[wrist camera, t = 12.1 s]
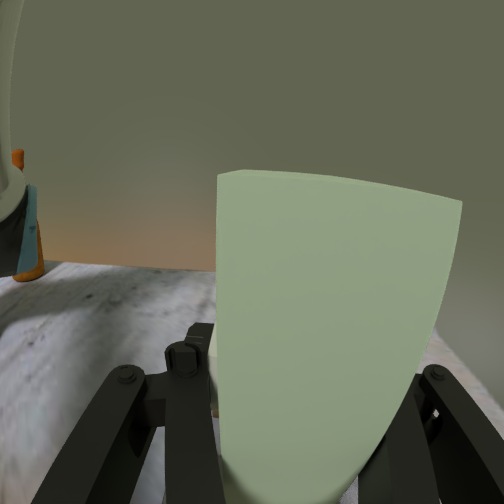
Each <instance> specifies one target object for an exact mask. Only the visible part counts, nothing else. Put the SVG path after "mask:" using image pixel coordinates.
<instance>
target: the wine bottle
mask: <svg viewBox="0 0 504 504" xmlns="http://www.w3.org/2000/svg"><path fill="white" fill-rule="evenodd" d="M12 165H14V166H16V167H17V168H19V169H20V170H21V171H22V169H23V168H24V151H23V150H22V149H18V150H14V151H13V152H12ZM22 173H23V172H22ZM37 251H38V262H37V265H36V267H35V268H34V269H33V270H31V271H28V272H24V273H20V274H18V275H17V276H12V277H13V279H14V280H16V281H19V282H25V281H30V280H34V279H36V278H38V277H40V276H41V275H42V274H43V272H44V261H43V255H42V246H41V238H40V230H39V225H38V221H37Z"/></svg>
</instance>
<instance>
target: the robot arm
mask: <svg viewBox="0 0 504 504" xmlns="http://www.w3.org/2000/svg"><path fill="white" fill-rule="evenodd" d="M23 3H24V0H0V278H2V277H8V276H17V275H18V274H20V273H24V272H28V271H31V270H33V269H34V268H35V267H36V265H37V262H38V251H37V187H36V186H34V185H30V184H28V185H26V183H25V178H24V175H23V173H22V171H21V170H20V169H19V168H17V167H16V166H14V165H12V157H11V144H10V116H9V115H10V84H11V83H10V82H11V71H12V62H13V54H14V47H15V40H16V34H17V29H18V24H19V19H20V15H21V11H22V7H23ZM164 353H165V359H166V366H167V371H166V372H163V373H159V374H150V375H145V373H144V371H143V370H142V369H141V368H140V367H137V366H135V365H122V366H118V367H116V368H114V369H113V370H112V371H111V372H110V373H109V375H108V376H107V378H106V379H105V381H104V382H103V384H102V385H101V387H100V388H99V390H98V391H97V393H96V394H95V396H94V397H93V399H92V401H91V402H90V404H89V405H88V407H87V408H86V410H85V411H84V413H83V415H82V416H81V418H80V419H79V421H78V423H77V424H76V426H75V427H74V429H73V431H72V432H71V434H70V436H69V437H68V439H67V441H66V442H65V444H64V446H63V447H62V449H61V451H60V452H59V454H58V456H57V457H56V459H55V461H54V463H53V464H52V466H51V468H50V469H49V471H48V473H47V475H46V477H45V478H44V480H43V482H42V484H41V486H40V487H39V489H38V491H37V493H36V495H35V497H34V499H33V500H32V502H31V504H129V503H130V500H131V497H132V494H133V492H134V489H135V486H136V483H137V480H138V477H139V475H140V472H141V469H142V466H143V464H144V461H145V458H146V455H147V453H148V450H149V447H150V445H151V442H152V439H153V436H154V434H155V431H156V428H157V427H161V426H165V488H166V504H226V501H225V496H224V491H223V485H222V480H221V474H220V468H219V462H218V456H217V450H216V444H215V437H214V430H213V423H212V416H211V410H219V404H218V379H217V342H216V320H215V324H210V323H195V324H193V325H192V326H191V327H190V328H189V329H188V332H187V335H186V337H185V340H184V341H179V342H175V343H173V344H171V345H169V346H168V347H167V348H166V350H165V352H164ZM435 409H436V410H437V411H438V413H439V415H438V417H437V418H436V417H435V416H434V414H433V413H434V411H435ZM439 498H440V500H441V502H442V504H504V440H503V439H502V437H501V436H500V434H499V433H498V432H497V430H496V429H495V428H494V426H493V425H492V424H491V422H490V421H489V420H488V418H487V417H486V416H485V414H484V413H483V412H482V410H481V409H480V408H479V407H478V405H477V404H476V403H475V401H474V400H473V399H472V398H471V396H470V395H469V394H468V393H467V391H466V390H465V389H464V388H463V386H462V385H461V384H460V383H459V382H458V380H457V379H456V378H455V377H454V376H453V374H452V373H451V372H450V371H449V370H448V369H447V368H445V367H443V366H441V365H437V364H430V365H428V366H426V367H425V368H424V370H423V372H422V374H416V373H415V376H414V378H413V380H412V382H411V384H410V387H409V389H408V391H407V393H406V395H405V397H404V399H403V401H402V403H401V405H400V407H399V409H398V411H397V413H396V414H395V416H394V418H393V420H392V422H391V424H390V425H389V427H388V429H387V431H386V432H385V434H384V436H383V437H382V439H381V441H380V442H379V444H378V446H377V447H376V449H375V450H374V452H373V453H372V455H371V457H370V458H369V460H368V461H367V463H366V464H365V466H364V467H363V468H362V470H361V471H360V473H359V474H358V504H440V501H439Z"/></svg>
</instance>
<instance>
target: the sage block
mask: <svg viewBox="0 0 504 504" xmlns="http://www.w3.org/2000/svg"><path fill="white" fill-rule="evenodd" d="M461 209H462V201H458V200H454V199H450V198H446V197H442V196H437V195H434V194H429V193H424V192H420V191H415V190H411V189H405V188H401V187H396V186H391V185H385V184H379V183H374V182H367V181H362V180H356V179H349V178H343V177H336V176H328V175H317V174H306V173H294V172H280V171H262V170H238V171H233V172H228V173H224V174H219V175H218V180H217V218H216V220H217V221H216V342H217V379H218V404H219V425H220V443H221V459H222V473H223V486H224V496H225V501H226V504H336V503H337V502H338V500H339V499H340V498H341V497H342V495H343V494H344V493H345V492H346V490H347V489H348V488H349V486H350V485H351V484H352V482H353V481H354V480H355V478H356V477H357V476H358V474H359V473H360V471H361V470H362V468H363V467H364V466H365V464H366V463H367V461H368V460H369V458H370V457H371V455H372V453H373V452H374V450H375V449H376V447H377V446H378V444H379V442H380V441H381V439H382V437H383V436H384V434H385V432H386V431H387V429H388V427H389V425H390V424H391V422H392V420H393V418H394V416H395V414H396V413H397V411H398V409H399V407H400V405H401V403H402V401H403V399H404V397H405V395H406V393H407V391H408V389H409V387H410V384H411V382H412V380H413V378H414V376H415V373H416V371H417V369H418V366H419V364H420V362H421V359H422V357H423V354H424V352H425V349H426V347H427V344H428V341H429V339H430V336H431V333H432V330H433V327H434V325H435V322H436V318H437V315H438V312H439V309H440V306H441V303H442V299H443V296H444V292H445V289H446V285H447V281H448V277H449V273H450V269H451V265H452V260H453V256H454V251H455V246H456V241H457V235H458V229H459V222H460V217H461Z"/></svg>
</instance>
